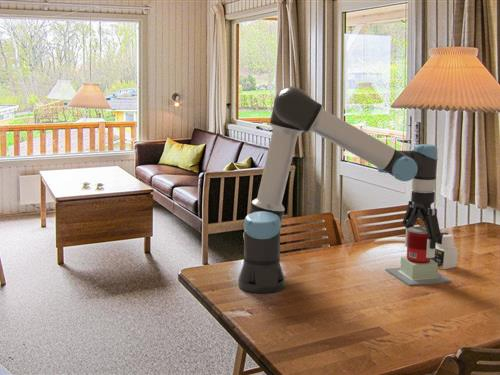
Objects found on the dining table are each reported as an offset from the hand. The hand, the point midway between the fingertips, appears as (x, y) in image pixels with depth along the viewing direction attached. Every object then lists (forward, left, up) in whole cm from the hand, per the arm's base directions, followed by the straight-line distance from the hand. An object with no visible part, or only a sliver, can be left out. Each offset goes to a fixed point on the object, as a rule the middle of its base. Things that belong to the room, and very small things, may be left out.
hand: (419, 251), depth 200 cm
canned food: (0, 0, -3) cm, 3 cm away
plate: (0, 0, -9) cm, 9 cm away
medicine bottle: (+15, +8, -9) cm, 19 cm away
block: (0, 0, -8) cm, 8 cm away
